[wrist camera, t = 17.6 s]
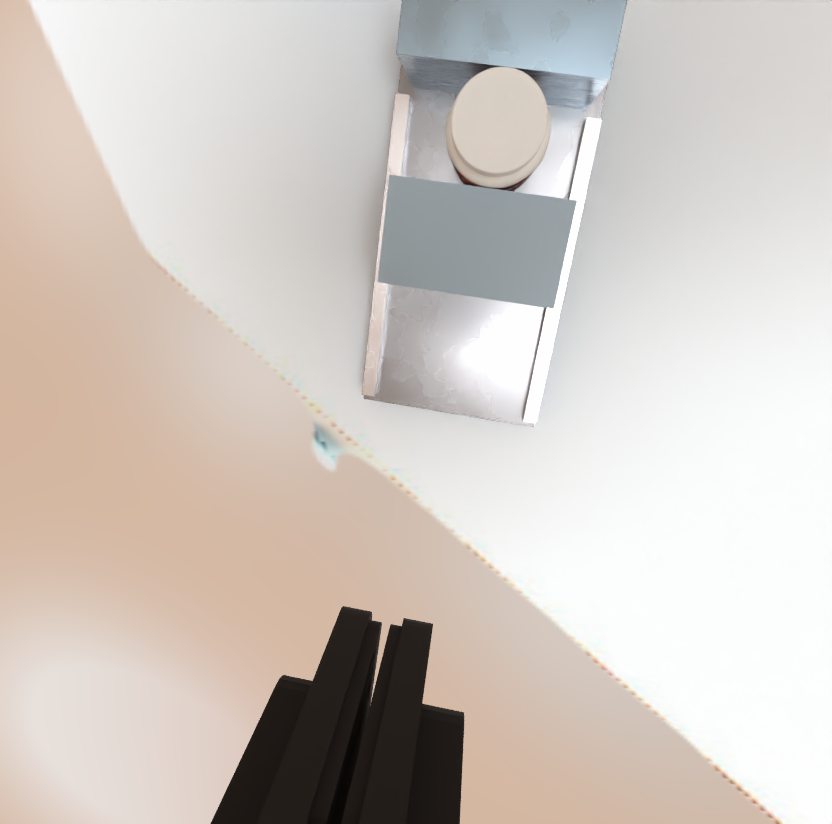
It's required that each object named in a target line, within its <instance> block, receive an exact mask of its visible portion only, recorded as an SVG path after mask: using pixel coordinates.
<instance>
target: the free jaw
mask: <svg viewBox="0 0 832 824" xmlns="http://www.w3.org/2000/svg"><path fill="white" fill-rule="evenodd" d="M576 204H577V200H571V199H564V198H557V197H550V196H542V195H535V194H528V193H521V192H513V191H506V190H499V189H491V188H484V187H477V186H470V185H462V184H455V183H448V182H441V181H433V180H426V179H419V178H411V177H404V176H397V175H390V174H389V183H388V191H387V200H386V209H385V218H384V227H383V236H382V245H381V254H380V262H379V271H378V280H377V282H380V283H386V284H393V285H399V286H406V287H413V288H419V289H426V290H432V291H439V292H445V293H452V294H459V295H465V296H472V297H478V298H485V299H491V300H498V301H505V302H511V303H518V304H524V305H531V306H537V307H544V308H551V309H554V307H555V302H556V297H557V293H558V288H559V283H560V279H561V274H562V269H563V265H564V260H565V255H566V251H567V246H568V241H569V236H570V232H571V227H572V222H573V218H574V213H575V208H576Z"/></svg>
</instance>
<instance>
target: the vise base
mask: <svg viewBox="0 0 832 824" xmlns="http://www.w3.org/2000/svg"><path fill="white" fill-rule="evenodd" d="M626 4H627V0H402V6H401V15H400V24H399V33H398V42H397V52H396V54H397V56H398V58H399V60H400V62H401V71H400V80H399V89H398V93H395V101H394V110H393V119H392V128H391V137H390V146H389V155H388V164H387V173H386V182H385V191H384V200H383V209H382V218H381V227H380V236H379V245H378V254H377V263H376V272H375V281H374V290H373V299H372V308H371V317H370V326H369V335H368V344H367V353H366V362H365V371H364V380H363V389H362V395H364V399H369V400H375V401H381V402H387V403H393V404H399V405H405V406H411V407H417V408H423V409H429V410H435V411H440V412H446V413H452V414H458V415H464V416H470V417H476V418H482V419H488V420H494V421H500V422H506V423H512V424H518V425H524V426H530V427H534V423H535V424H536V422H537V417H538V413H539V408H540V404H541V399H542V394H543V390H544V385H545V381H546V376H547V371H548V367H549V362H550V358H551V353H552V348H553V344H554V339H555V335H556V330H557V325H558V321H559V316H560V311H561V307H562V302H563V298H564V293H565V288H566V284H567V279H568V275H569V270H570V265H571V261H572V256H573V252H574V247H575V242H576V238H577V233H578V229H579V224H580V219H581V215H582V210H583V206H584V201H585V196H586V192H587V187H588V183H589V178H590V173H591V169H592V164H593V159H594V155H595V150H596V146H597V141H598V136H599V132H600V127H601V123H602V119H600V117H601V112H602V107H603V103H604V98H605V93H606V89H607V84H608V81H609V80H610V78H611V73H612V69H613V64H614V60H615V55H616V50H617V46H618V41H619V36H620V32H621V27H622V23H623V18H624V13H625V9H626ZM494 67H511V68H515V69H518V70H520V71H523V72H524V73H526V74H528V75H529V76H530V77H531V78H532V79H533V80H534V81H535V82H536V83H537V84H538V86H539V87H540V89H541V90H542V92H543V94H544V97H545V100H546V103H547V107H548V109H549V113H550V120H551V133H550V139H549V143H548V147H547V150H546V153H545V155H544V157H543V159H542V161H541V163H540V164H539V165H538V167H537V168H536V169H535V170H534V171H533V173H532V174H531V175H530V176H529V178H528V179H527V180H526V181H525V182H524V183H523V184H522V185H521V186H520V187H519V188H517V189H516V190H514V191H513V192H521V193H528V194H535V195H542V196H550V197H557V198H564V199H571V200H577V204H576V208H575V213H574V218H573V222H572V227H571V232H570V236H569V241H568V246H567V251H566V255H565V260H564V265H563V269H562V274H561V279H560V283H559V288H558V293H557V297H556V302H555V307H554V309H551V308H544V307H537V306H531V305H524V304H518V303H511V302H505V301H498V300H491V299H485V298H478V297H472V296H465V295H459V294H452V293H445V292H439V291H432V290H426V289H419V288H413V287H406V286H399V285H393V284H386V283H380V282H377V280H378V271H379V262H380V254H381V245H382V236H383V227H384V218H385V209H386V200H387V191H388V183H389V174H390V175H397V176H404V177H411V178H419V179H426V180H433V181H441V182H448V183H455V184H462V185H465V184H464V183H463V182H462V181H461V180H460V178H459V177H458V175H457V173H456V171H455V168H454V166H453V163H452V161H451V159H450V156H449V153H448V150H447V145H446V124H447V119H448V116H449V112H450V110H451V108H452V105H453V103H454V101H455V100H456V98H457V96H458V94H459V92H460V91H461V89H462V88H463V87H464V86H465V84H466V83H467V82H468V81H469V80H470V79H471V78H473V77H474V76H475V75H477V74H479V73H480V72H482V71H484V70H487V69H490V68H494Z"/></svg>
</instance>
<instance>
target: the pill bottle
mask: <svg viewBox="0 0 832 824" xmlns="http://www.w3.org/2000/svg"><path fill="white" fill-rule="evenodd" d="M550 133H551V120H550V113H549V109H548V107H547V103H546V100H545V97H544V94H543V92H542V90H541V89H540V87H539V86H538V84H537V83H536V82H535V81H534V80H533V79H532V78H531V77H530V76H529V75H528V74H526V73H524V72H523V71H520V70H518V69H515V68H511V67H494V68H490V69H487V70H484V71H482V72H480V73H479V74H477V75H475V76H474V77H473V78H471V79H470V80H469V81H468V82H467V83H466V84H465V86H464V87H463V88H462V89H461V91H460V92H459V94H458V96H457V98H456V100H455V101H454V103H453V105H452V108H451V110H450V112H449V116H448V119H447V124H446V145H447V150H448V153H449V156H450V159H451V161H452V163H453V166H454V168H455V171H456V173H457V175H458V177H459V178H460V180H461V181H462V182H463V183H464V184H465V185H470V186H477V187H484V188H491V189H499V190H506V191H514V190H516V189H517V188H519V187H520V186H521V185H522V184H523V183H524V182H525V181H526V180H527V179H528V178H529V176H530V175H531V174H532V173H533V171H534V170H535V169H536V168H537V167H538V165H539V164H540V163H541V161H542V159H543V157H544V155H545V153H546V150H547V147H548V143H549V139H550Z"/></svg>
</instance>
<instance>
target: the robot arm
mask: <svg viewBox="0 0 832 824" xmlns="http://www.w3.org/2000/svg"><path fill="white" fill-rule="evenodd" d="M381 626H382V623H381V622H377V621H372V612H370V611H364V610H359V609H355V608H350V607H344V606H343V607H342V608H341V610H340V613H339V616H338V618H337V621H336V623H335V626H334V628H333V631H332V633H331V636H330V638H329V641H328V644H327V646H326V649H325V651H324V654H323V656H322V659H321V661H320V664H319V666H318V669H317V671H316V674H315V677H314V679H313V681H309V680H305V679H300V678H295V677H290V676H285V675H283V676H282V677H281V678H280V679H279V681H278V682H277V684H276V686H275V688H274V690H273V692H272V695H271V697H270V699H269V701H268V703H267V705H266V707H265V709H264V712H263V714H262V716H261V718H260V720H259V722H258V724H257V726H256V729H255V731H254V733H253V735H252V737H251V739H250V741H249V743H248V745H247V748H246V750H245V752H244V754H243V756H242V758H241V760H240V762H239V765H238V767H237V769H236V771H235V773H234V775H233V777H232V780H231V782H230V784H229V786H228V788H227V790H226V792H225V794H224V796H223V799H222V801H221V803H220V805H219V807H218V809H217V811H216V813H215V816H214V818H213V820H212V822H211V824H460V802H461V780H462V759H463V737H464V736H463V735H464V713H463V712H459V711H454V710H449V709H445V708H439V707H435V706H430V705H425V704H422V700H423V693H424V684H425V678H426V670H427V664H428V657H429V649H430V642H431V634H432V627H433V624H431V623H426V622H421V621H416V620H410V619H406V618H404V620H403V624H402V626H397V625H392V624H391V625H390V629H389V633H388V637H387V641H386V645H385V649H384V653H383V657H382V661H381V665H380V669H379V673H378V677H377V681H376V685H375V689H374V693H373V697H372V689H373V683H374V676H375V669H376V662H377V655H378V647H379V640H380V633H381ZM371 697H372V701H371ZM370 704H371V705H370Z"/></svg>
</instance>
